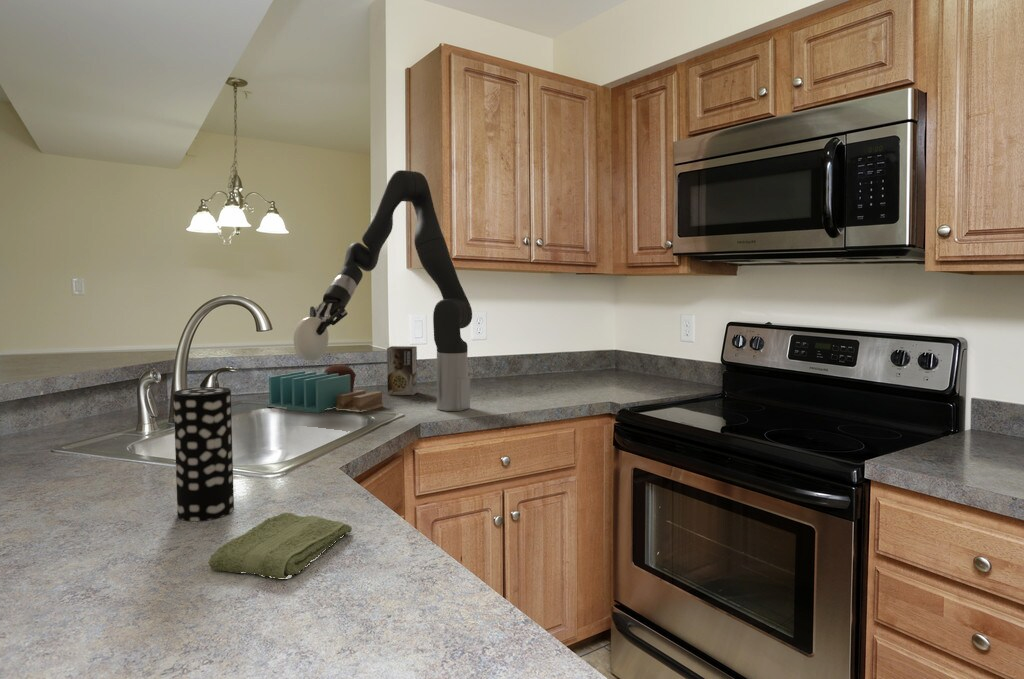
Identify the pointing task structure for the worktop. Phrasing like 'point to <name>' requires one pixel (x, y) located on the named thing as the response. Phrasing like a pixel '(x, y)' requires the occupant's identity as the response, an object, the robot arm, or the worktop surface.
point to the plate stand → (359, 400)
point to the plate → (310, 339)
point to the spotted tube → (203, 453)
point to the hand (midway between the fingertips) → (315, 333)
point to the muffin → (342, 373)
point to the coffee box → (402, 370)
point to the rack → (307, 390)
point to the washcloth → (279, 545)
